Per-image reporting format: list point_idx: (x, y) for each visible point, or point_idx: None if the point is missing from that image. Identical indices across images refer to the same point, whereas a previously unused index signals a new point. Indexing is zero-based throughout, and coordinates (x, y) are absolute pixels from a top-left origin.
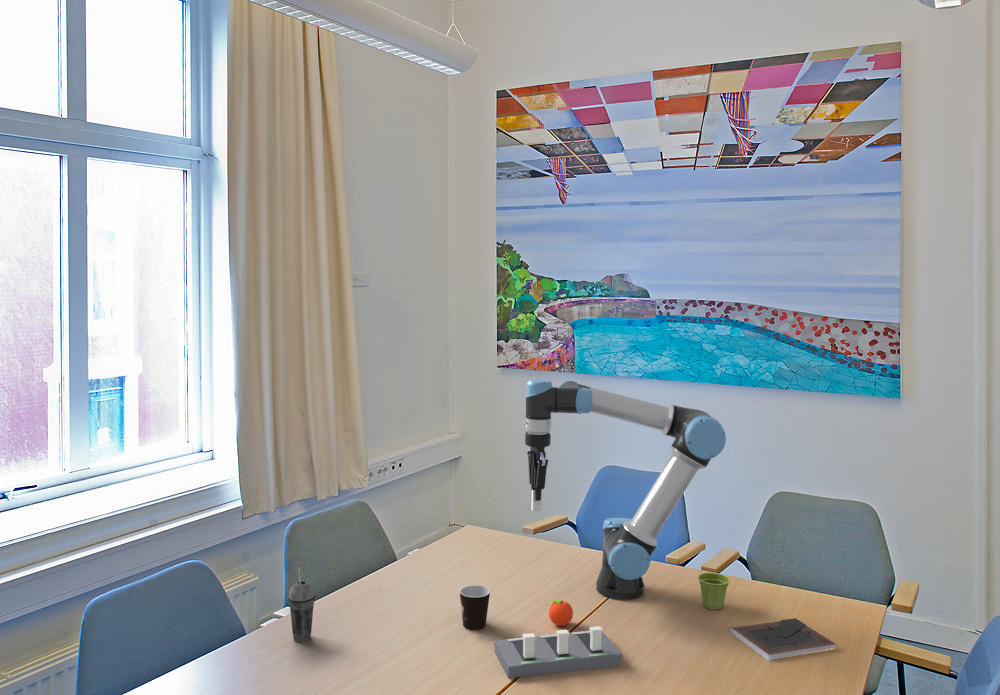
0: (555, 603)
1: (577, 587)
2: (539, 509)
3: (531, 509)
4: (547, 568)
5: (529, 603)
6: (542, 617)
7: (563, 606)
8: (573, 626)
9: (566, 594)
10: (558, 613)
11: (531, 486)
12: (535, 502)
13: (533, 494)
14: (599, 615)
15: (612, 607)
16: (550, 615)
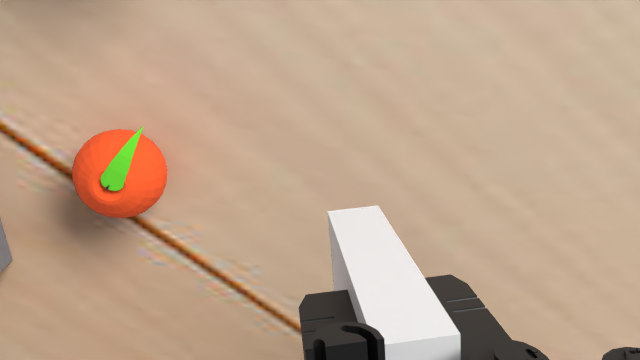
0: (104, 162)
1: None
2: (334, 281)
3: (374, 207)
4: (597, 213)
5: (314, 91)
6: (194, 113)
7: (83, 187)
8: None
9: None
10: (75, 160)
11: (503, 348)
12: (343, 277)
13: (359, 306)
14: (197, 295)
15: (252, 343)
16: (103, 132)
